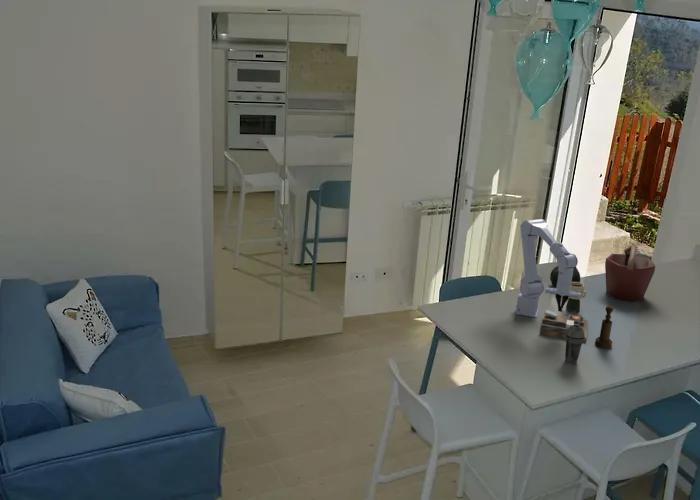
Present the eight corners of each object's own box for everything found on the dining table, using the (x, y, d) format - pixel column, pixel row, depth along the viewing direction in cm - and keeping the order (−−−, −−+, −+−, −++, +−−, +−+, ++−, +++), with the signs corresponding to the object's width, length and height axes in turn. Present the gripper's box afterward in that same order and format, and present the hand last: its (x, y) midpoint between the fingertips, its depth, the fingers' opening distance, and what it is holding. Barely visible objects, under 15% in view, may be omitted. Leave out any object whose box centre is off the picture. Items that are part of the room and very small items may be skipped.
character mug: (587, 312, 323) (591, 286, 319) (578, 315, 319) (582, 289, 314) (567, 304, 331) (571, 279, 327) (558, 307, 327) (562, 282, 322)
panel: (539, 333, 298) (541, 325, 297) (543, 316, 316) (545, 308, 315) (585, 342, 292) (587, 333, 291) (587, 324, 310) (588, 315, 309)
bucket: (610, 283, 361) (618, 238, 353) (654, 294, 348) (663, 247, 341) (595, 297, 342) (603, 249, 334) (642, 309, 330) (651, 259, 322)
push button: (571, 321, 306) (571, 318, 306) (571, 318, 310) (572, 315, 309) (580, 323, 305) (581, 320, 304) (580, 320, 308) (581, 316, 308)
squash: (540, 275, 352) (560, 260, 342) (555, 270, 362) (576, 255, 352) (555, 299, 347) (577, 284, 337) (570, 293, 357) (592, 278, 347)
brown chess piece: (611, 343, 292) (618, 304, 286) (611, 350, 286) (618, 310, 280) (594, 340, 294) (601, 301, 288) (594, 347, 288) (601, 307, 282)
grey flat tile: (544, 314, 310) (545, 312, 310) (545, 311, 313) (546, 309, 313) (555, 318, 309) (556, 316, 308) (556, 315, 312) (557, 313, 312)
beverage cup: (558, 357, 278) (565, 311, 272) (576, 357, 279) (583, 311, 272) (565, 365, 271) (572, 319, 265) (583, 365, 272) (591, 319, 265)
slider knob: (565, 331, 296) (566, 324, 295) (565, 327, 300) (566, 319, 299) (572, 332, 295) (573, 325, 294) (573, 328, 299) (574, 320, 298)
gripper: (546, 281, 294) (541, 311, 298) (581, 287, 289) (576, 317, 294) (547, 276, 300) (543, 305, 305) (582, 282, 295) (577, 311, 300)
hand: (559, 310), depth 299 cm, fingers closed
